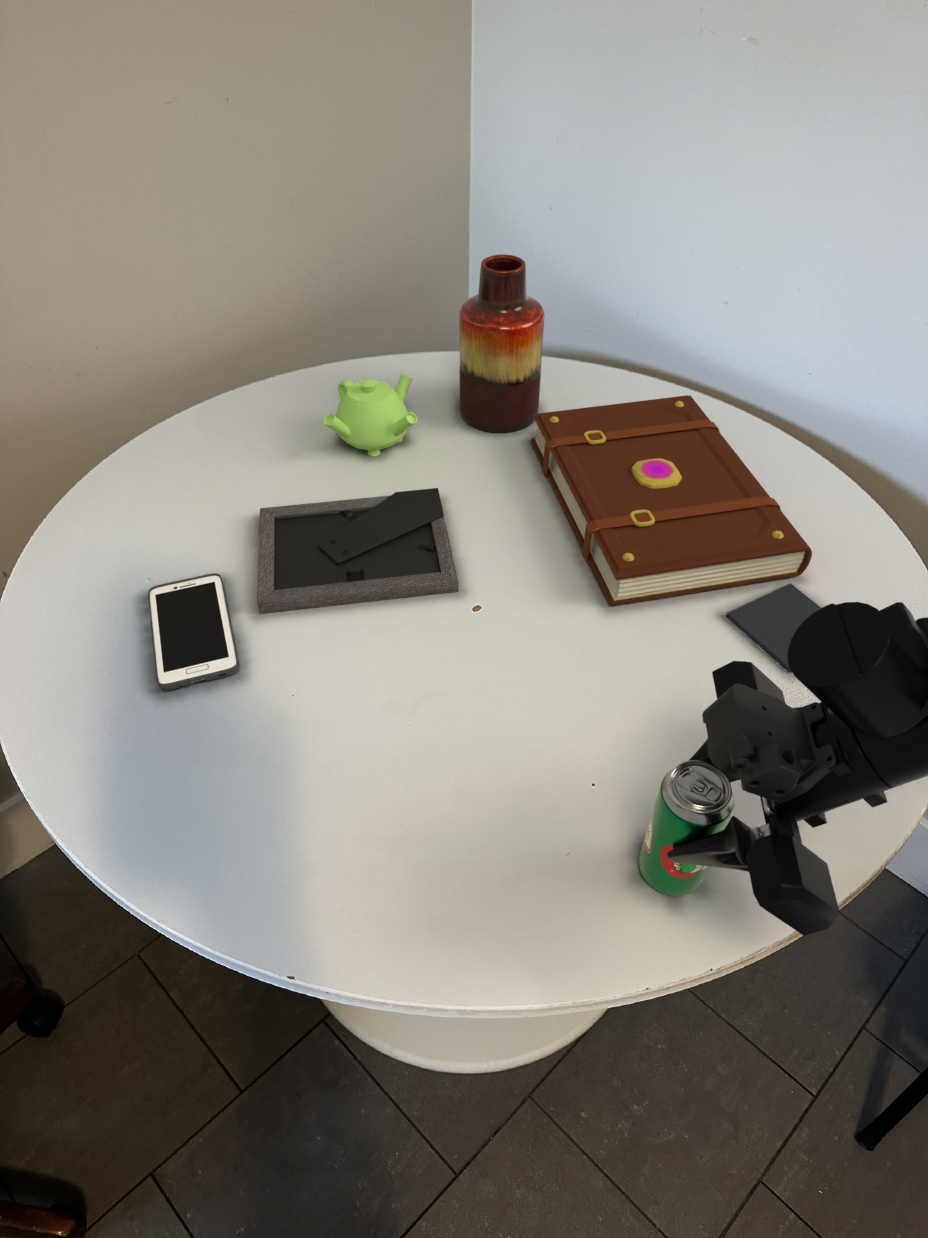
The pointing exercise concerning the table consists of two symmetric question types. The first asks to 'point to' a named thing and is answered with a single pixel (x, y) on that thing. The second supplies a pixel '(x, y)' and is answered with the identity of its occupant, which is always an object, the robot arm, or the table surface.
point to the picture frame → (354, 551)
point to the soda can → (684, 823)
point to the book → (663, 501)
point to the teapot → (372, 414)
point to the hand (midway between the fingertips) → (666, 824)
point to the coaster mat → (774, 619)
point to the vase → (500, 349)
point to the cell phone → (191, 632)
